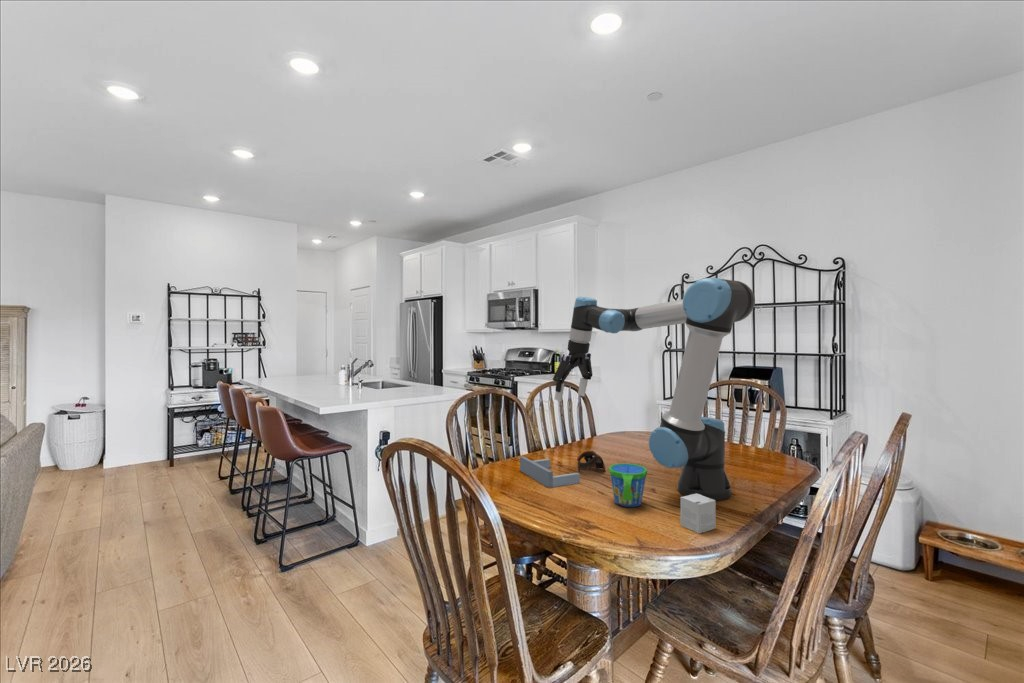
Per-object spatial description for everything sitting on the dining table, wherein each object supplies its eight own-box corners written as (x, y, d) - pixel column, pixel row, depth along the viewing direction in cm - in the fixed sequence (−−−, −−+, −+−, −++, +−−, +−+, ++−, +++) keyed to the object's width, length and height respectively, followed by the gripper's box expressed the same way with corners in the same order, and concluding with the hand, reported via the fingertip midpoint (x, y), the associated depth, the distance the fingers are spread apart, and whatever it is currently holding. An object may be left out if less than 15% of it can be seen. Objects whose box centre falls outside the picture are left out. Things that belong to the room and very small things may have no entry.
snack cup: (644, 515, 127) (644, 477, 127) (604, 510, 131) (604, 473, 131) (649, 496, 142) (649, 462, 142) (613, 492, 146) (613, 459, 146)
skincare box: (696, 520, 124) (696, 492, 124) (716, 529, 118) (716, 499, 118) (679, 525, 121) (679, 496, 121) (699, 534, 115) (699, 504, 115)
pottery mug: (611, 475, 165) (602, 457, 163) (586, 487, 165) (577, 469, 163) (601, 458, 177) (592, 440, 174) (578, 469, 177) (569, 452, 174)
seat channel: (548, 466, 175) (548, 453, 174) (579, 483, 155) (579, 467, 155) (520, 470, 170) (519, 456, 170) (548, 487, 151) (548, 472, 151)
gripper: (591, 337, 180) (582, 390, 184) (548, 339, 162) (539, 399, 166) (608, 341, 175) (598, 396, 179) (565, 345, 157) (555, 406, 161)
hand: (569, 397), depth 173 cm, fingers open, 13 cm apart
